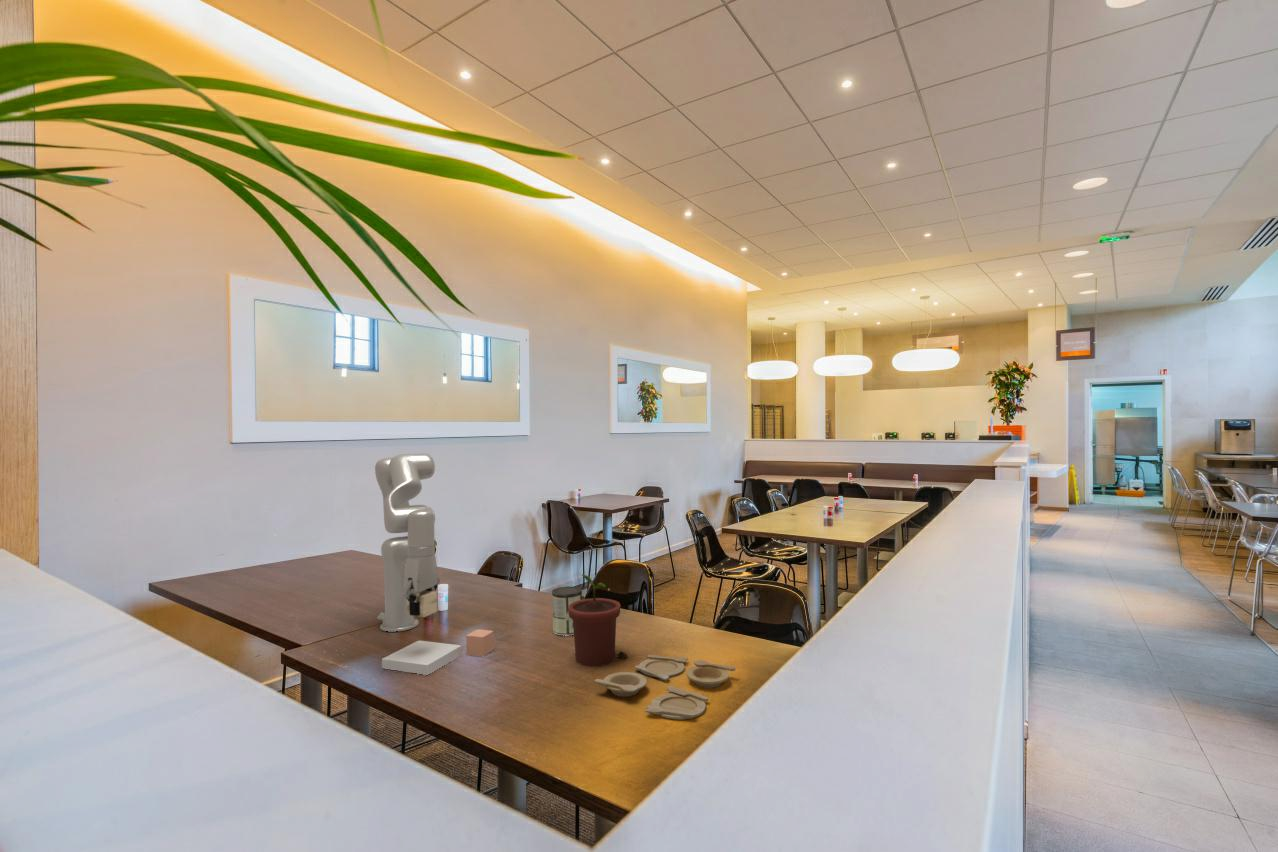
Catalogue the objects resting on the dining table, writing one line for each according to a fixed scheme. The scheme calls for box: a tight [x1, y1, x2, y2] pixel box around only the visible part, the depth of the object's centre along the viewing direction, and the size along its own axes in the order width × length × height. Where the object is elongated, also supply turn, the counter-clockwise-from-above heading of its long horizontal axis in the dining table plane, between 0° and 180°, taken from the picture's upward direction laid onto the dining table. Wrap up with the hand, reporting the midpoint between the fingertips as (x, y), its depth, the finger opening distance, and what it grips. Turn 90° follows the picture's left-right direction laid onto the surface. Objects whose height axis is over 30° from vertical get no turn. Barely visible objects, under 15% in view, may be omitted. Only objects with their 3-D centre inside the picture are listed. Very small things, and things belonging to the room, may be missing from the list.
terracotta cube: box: [465, 629, 495, 657], centre depth 188 cm, size 6×6×6 cm
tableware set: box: [594, 654, 736, 721], centre depth 160 cm, size 35×29×4 cm
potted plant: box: [568, 574, 628, 667], centre depth 184 cm, size 18×22×25 cm
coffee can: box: [551, 586, 583, 637], centre depth 206 cm, size 10×10×14 cm
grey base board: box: [381, 640, 463, 676], centre depth 180 cm, size 16×16×3 cm
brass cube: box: [407, 590, 438, 618], centre depth 180 cm, size 6×6×6 cm
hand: (422, 611), depth 180 cm, fingers closed on brass cube, 6 cm apart
